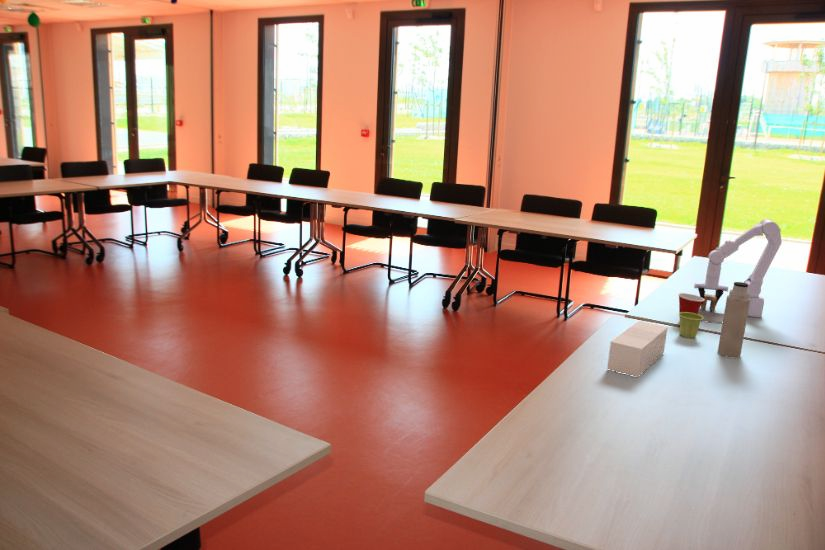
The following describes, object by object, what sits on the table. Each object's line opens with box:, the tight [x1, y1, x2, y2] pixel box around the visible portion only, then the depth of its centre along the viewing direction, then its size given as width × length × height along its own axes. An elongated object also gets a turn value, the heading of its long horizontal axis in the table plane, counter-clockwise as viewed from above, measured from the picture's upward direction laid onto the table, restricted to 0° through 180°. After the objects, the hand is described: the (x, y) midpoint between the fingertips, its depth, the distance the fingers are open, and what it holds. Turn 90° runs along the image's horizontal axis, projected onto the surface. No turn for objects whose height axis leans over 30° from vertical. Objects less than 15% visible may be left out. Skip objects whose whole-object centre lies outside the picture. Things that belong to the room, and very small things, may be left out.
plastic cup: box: [677, 292, 705, 314], centre depth 300 cm, size 11×11×12 cm
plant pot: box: [678, 312, 703, 339], centre depth 282 cm, size 9×9×9 cm
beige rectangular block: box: [606, 320, 668, 378], centre depth 249 cm, size 32×11×11 cm, turn 145°
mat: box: [698, 310, 724, 324], centre depth 310 cm, size 16×16×1 cm
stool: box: [700, 293, 717, 312], centre depth 323 cm, size 5×5×7 cm
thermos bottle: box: [717, 281, 750, 358], centre depth 260 cm, size 8×8×28 cm
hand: (708, 304), depth 323 cm, fingers closed on stool, 5 cm apart
